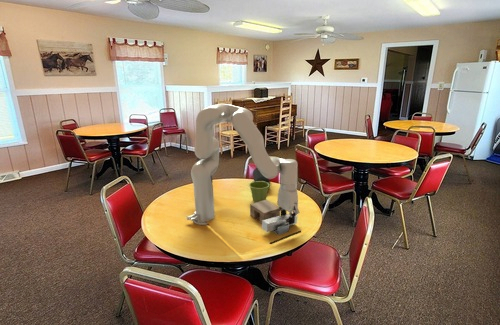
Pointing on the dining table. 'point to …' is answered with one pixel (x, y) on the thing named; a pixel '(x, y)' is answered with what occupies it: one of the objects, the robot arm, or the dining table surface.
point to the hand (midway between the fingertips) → (287, 220)
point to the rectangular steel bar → (276, 222)
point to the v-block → (282, 230)
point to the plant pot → (259, 190)
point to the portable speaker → (259, 176)
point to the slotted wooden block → (264, 210)
